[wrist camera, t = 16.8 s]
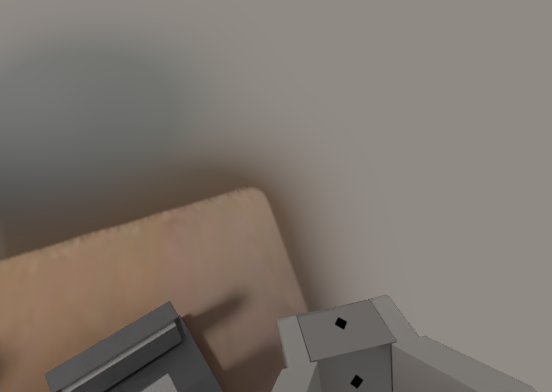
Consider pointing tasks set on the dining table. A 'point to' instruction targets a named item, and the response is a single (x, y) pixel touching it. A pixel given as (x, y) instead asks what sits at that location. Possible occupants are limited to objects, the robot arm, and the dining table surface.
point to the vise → (138, 359)
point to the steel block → (163, 385)
